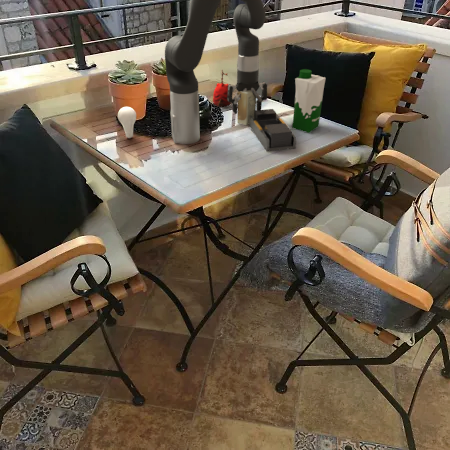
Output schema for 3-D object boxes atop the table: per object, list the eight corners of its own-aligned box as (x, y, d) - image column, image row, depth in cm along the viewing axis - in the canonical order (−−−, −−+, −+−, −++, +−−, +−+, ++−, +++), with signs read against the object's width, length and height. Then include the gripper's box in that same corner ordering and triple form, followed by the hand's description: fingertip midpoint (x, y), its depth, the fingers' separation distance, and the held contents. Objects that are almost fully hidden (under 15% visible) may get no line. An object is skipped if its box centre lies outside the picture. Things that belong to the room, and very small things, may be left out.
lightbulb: (142, 136, 165) (138, 105, 158) (132, 142, 160) (128, 111, 154) (127, 133, 167) (123, 102, 160) (117, 139, 162) (112, 108, 156)
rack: (266, 151, 155) (267, 134, 152) (249, 126, 172) (249, 110, 168) (295, 148, 157) (297, 131, 154) (275, 124, 174) (276, 108, 170)
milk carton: (300, 120, 176) (306, 66, 165) (322, 126, 172) (329, 71, 160) (288, 128, 171) (293, 72, 159) (310, 134, 166) (317, 77, 155)
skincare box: (246, 117, 179) (247, 85, 172) (255, 120, 177) (257, 88, 170) (236, 123, 174) (237, 90, 167) (246, 125, 172) (247, 93, 165)
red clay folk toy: (232, 102, 191) (233, 65, 183) (230, 109, 186) (231, 70, 177) (214, 102, 192) (213, 64, 184) (211, 108, 186) (211, 70, 178)
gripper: (230, 72, 160) (230, 117, 169) (270, 69, 162) (268, 114, 172) (225, 65, 166) (225, 110, 175) (264, 63, 168) (262, 106, 178)
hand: (246, 112), depth 173 cm, fingers open, 8 cm apart
